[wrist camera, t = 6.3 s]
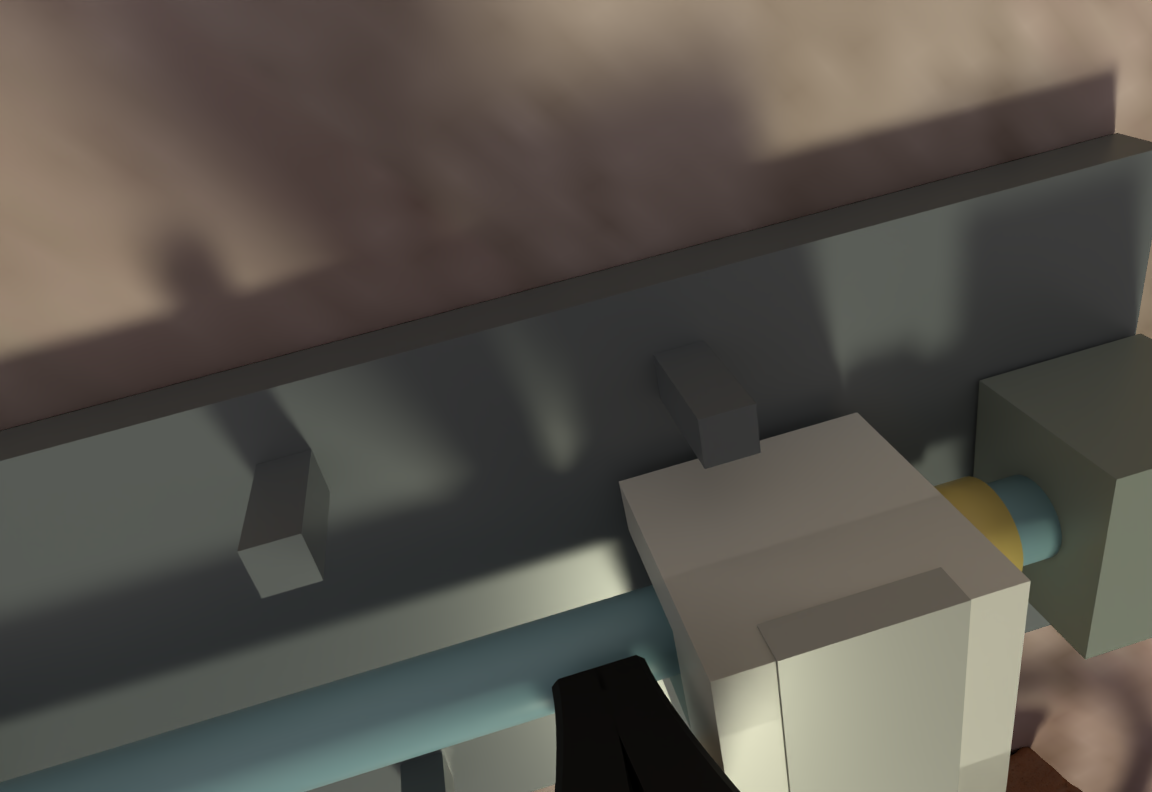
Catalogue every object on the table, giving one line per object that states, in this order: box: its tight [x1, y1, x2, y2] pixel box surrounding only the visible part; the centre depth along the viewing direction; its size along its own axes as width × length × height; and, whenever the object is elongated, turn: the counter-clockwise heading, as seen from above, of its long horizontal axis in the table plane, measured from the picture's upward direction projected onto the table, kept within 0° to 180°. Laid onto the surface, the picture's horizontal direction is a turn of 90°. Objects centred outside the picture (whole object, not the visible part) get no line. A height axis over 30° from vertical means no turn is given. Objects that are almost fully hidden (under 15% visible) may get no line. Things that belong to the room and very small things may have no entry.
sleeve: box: [619, 412, 1031, 792], centre depth 12 cm, size 4×4×4 cm
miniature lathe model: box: [0, 133, 1152, 792], centre depth 13 cm, size 22×10×4 cm, turn 101°
